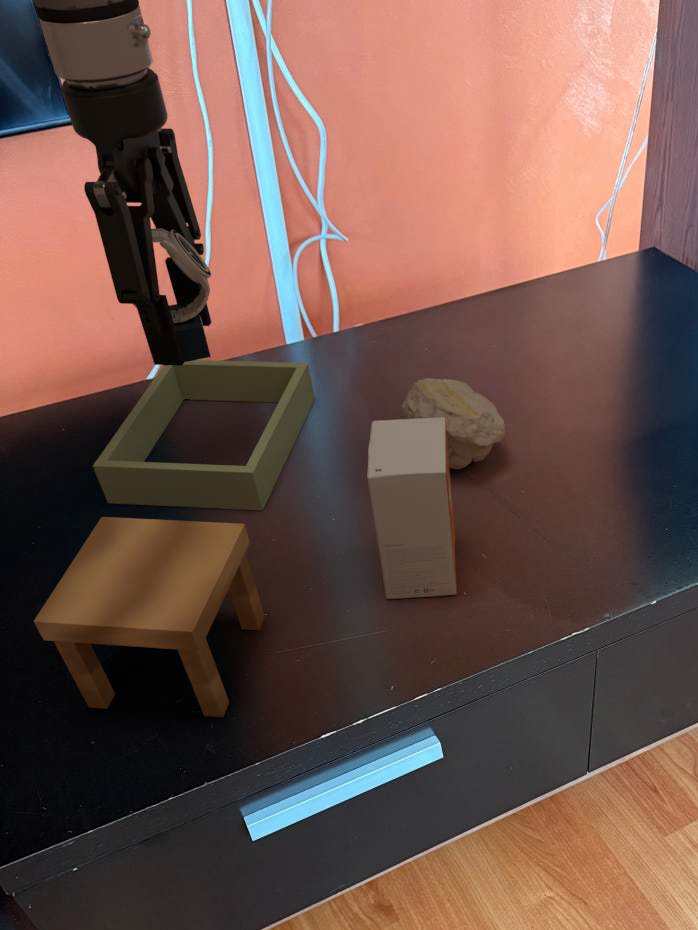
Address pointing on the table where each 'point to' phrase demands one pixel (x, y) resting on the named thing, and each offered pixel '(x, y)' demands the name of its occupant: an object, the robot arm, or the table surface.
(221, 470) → the olive green rectangular frame
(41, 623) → the stool
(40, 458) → the table surface
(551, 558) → the table surface
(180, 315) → the watch
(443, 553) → the small box
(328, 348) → the table surface
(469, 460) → the beige rock
